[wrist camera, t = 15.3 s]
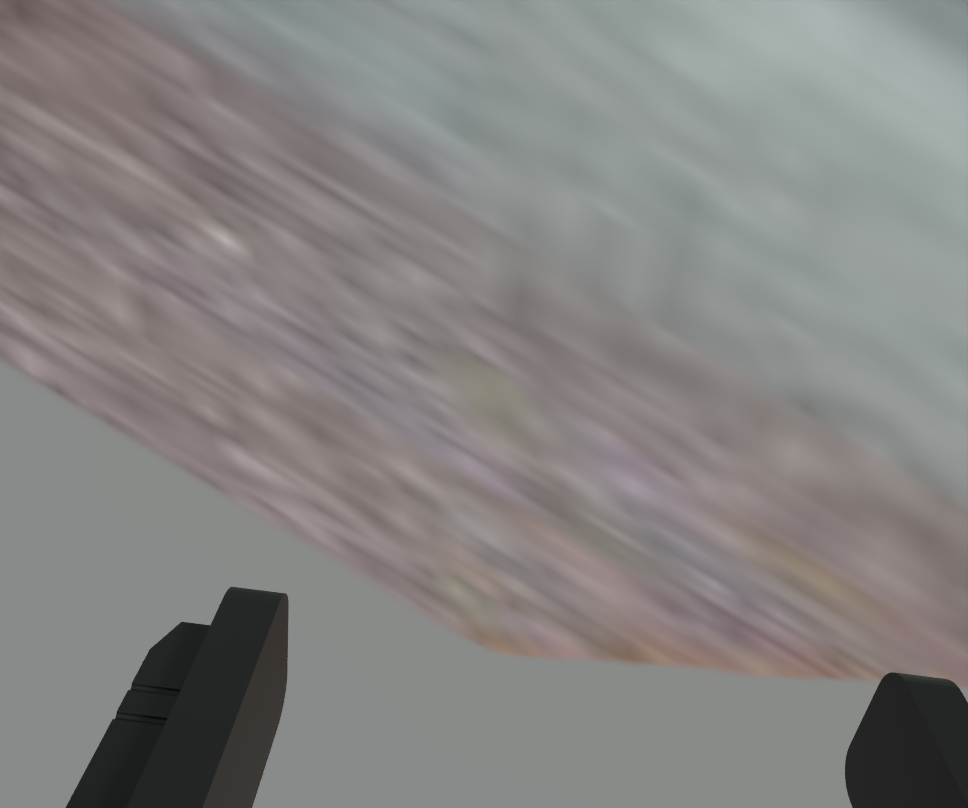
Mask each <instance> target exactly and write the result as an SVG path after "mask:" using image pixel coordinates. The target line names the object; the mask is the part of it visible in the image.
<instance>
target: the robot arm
mask: <svg viewBox="0 0 968 808" xmlns="http://www.w3.org/2000/svg"><path fill="white" fill-rule="evenodd" d="M287 657H288V596H287V594H284V593H277V592H269V591H260V590H253V589H245V588H237V587H230V588H229V589H228V591H227V592H226V594H225V595H224V598H223V600H222V602H221V604H220V606H219V608H218V610H217V613H216V615H215V617H214V619H213V621H212V623H211V626H210V625H202V624H195V623H186V622H181V623H180V624H179V625H178V626H176V627H175V628H174V629H173V630H172V631H171V632H169V633H168V634H167V635H166V636H165V637H164V638H163V639H161V640H160V641H159V642H158V643H157V644H155V646H153V647H152V648H151V649H150V650H149V652H148V654H147V656H146V658H145V660H144V661H143V663H142V665H141V667H140V669H139V671H138V673H137V675H136V676H135V678H134V680H133V682H132V687H131V690H128V692H127V693H126V695H125V697H124V699H123V701H122V703H121V705H120V707H119V709H118V710H117V715H116V718H115V719H113V720H112V722H111V723H110V725H109V727H108V729H107V731H106V733H105V735H104V737H103V739H102V740H101V742H100V744H99V746H98V748H97V750H96V752H95V754H94V755H93V757H92V759H91V761H90V763H89V765H88V767H87V769H86V770H85V772H84V774H83V776H82V778H81V780H80V782H79V784H78V786H77V788H76V789H75V791H74V793H73V795H72V797H71V799H70V801H69V802H68V804H67V806H66V808H252V806H253V803H254V800H255V796H256V793H257V790H258V787H259V784H260V781H261V778H262V775H263V771H264V768H265V765H266V762H267V759H268V756H269V753H270V749H271V746H272V743H273V740H274V737H275V734H276V731H277V727H278V724H279V721H280V717H281V712H282V708H283V703H284V697H285V691H286V684H287ZM845 779H846V787H847V792H848V796H849V798H850V802H851V804H852V807H853V808H968V703H967V701H966V699H965V697H964V696H963V694H962V692H961V691H960V689H959V688H958V686H957V685H956V684H955V683H953V682H952V681H950V680H948V679H941V678H933V677H925V676H917V675H909V674H901V673H888V674H887V675H885V676H884V677H883V679H882V680H881V682H880V684H879V686H878V688H877V690H876V692H875V694H874V696H873V698H872V700H871V702H870V705H869V706H868V709H867V711H866V713H865V715H864V717H863V719H862V721H861V723H860V725H859V727H858V729H857V731H856V734H855V736H854V738H853V740H852V742H851V744H850V746H849V749H848V752H847V756H846V763H845Z"/></svg>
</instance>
